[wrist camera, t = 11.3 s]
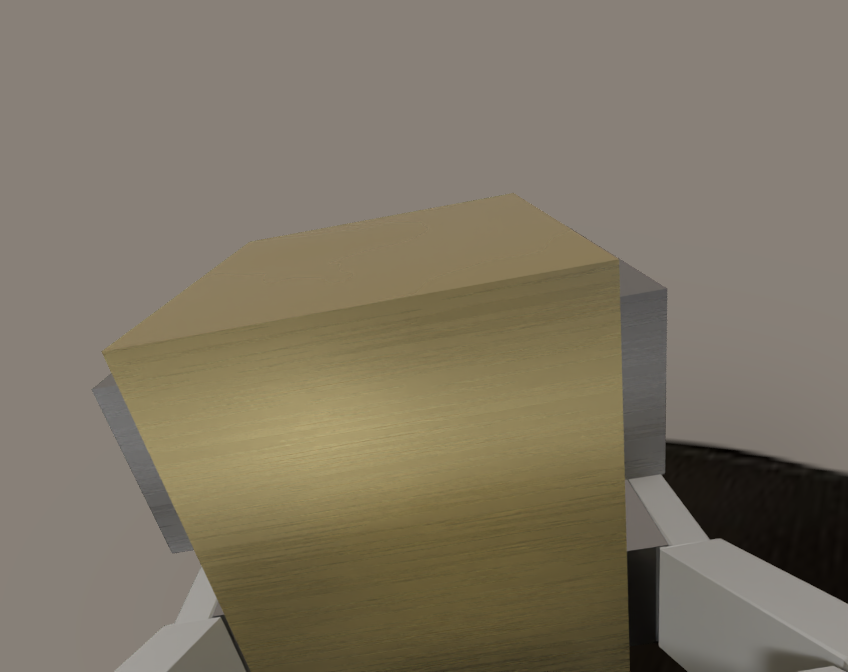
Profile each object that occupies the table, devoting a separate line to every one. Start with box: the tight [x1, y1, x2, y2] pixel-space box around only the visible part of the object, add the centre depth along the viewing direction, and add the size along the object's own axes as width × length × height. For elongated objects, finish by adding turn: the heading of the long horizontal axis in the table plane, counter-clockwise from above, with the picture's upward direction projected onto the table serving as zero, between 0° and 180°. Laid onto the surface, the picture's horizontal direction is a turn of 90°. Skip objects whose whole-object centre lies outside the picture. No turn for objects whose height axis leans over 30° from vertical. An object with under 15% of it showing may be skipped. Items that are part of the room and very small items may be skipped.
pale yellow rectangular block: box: [92, 193, 667, 672], centre depth 8 cm, size 5×4×11 cm
